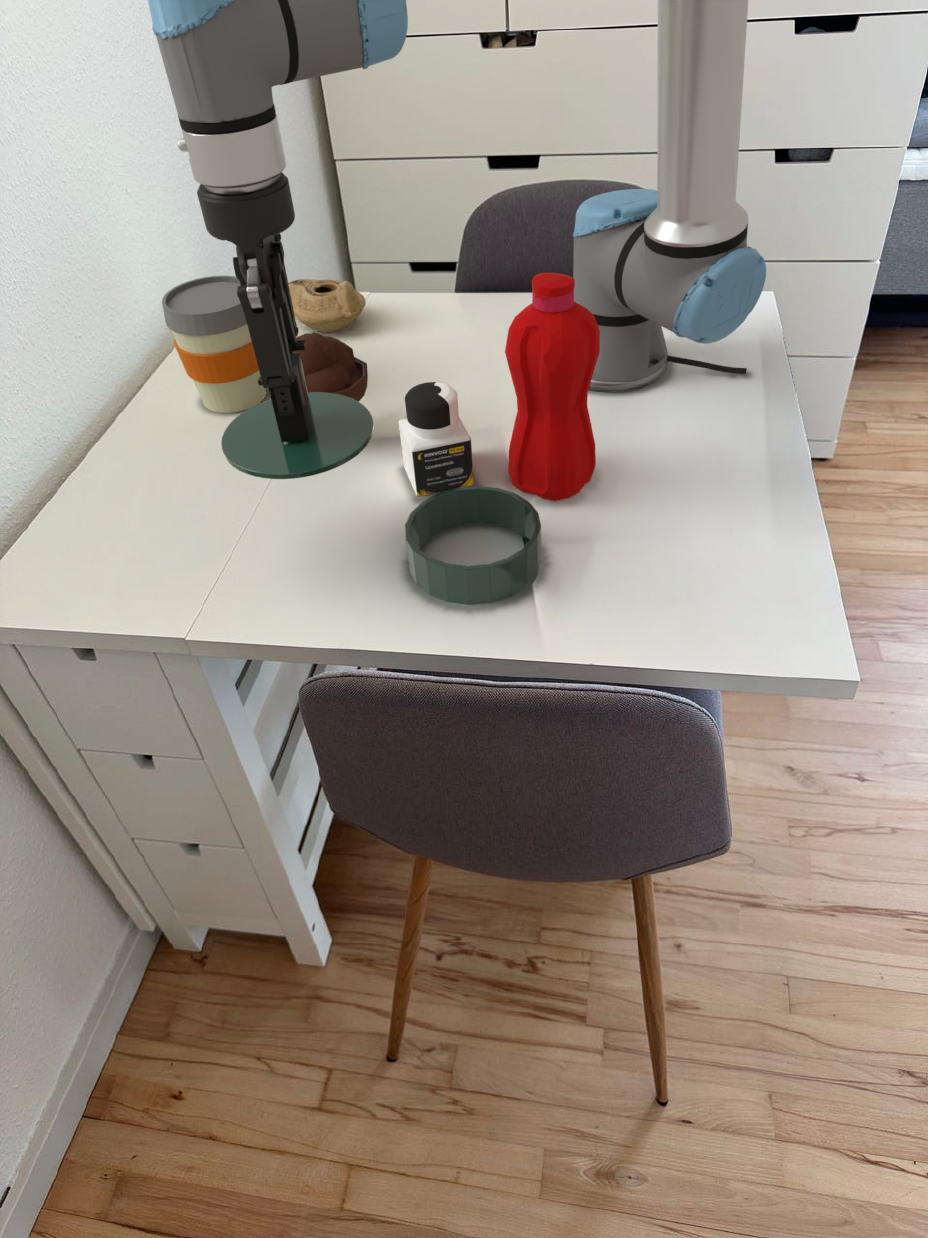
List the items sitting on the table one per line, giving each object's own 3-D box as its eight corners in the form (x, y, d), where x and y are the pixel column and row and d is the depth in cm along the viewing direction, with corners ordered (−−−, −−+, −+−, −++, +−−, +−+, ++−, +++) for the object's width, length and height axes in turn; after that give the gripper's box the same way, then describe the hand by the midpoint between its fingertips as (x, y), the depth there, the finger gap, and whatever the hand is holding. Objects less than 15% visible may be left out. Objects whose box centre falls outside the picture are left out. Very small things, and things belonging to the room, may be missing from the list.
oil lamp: (301, 304, 150) (292, 256, 145) (381, 314, 145) (375, 265, 140) (266, 333, 143) (255, 283, 137) (350, 345, 138) (342, 294, 133)
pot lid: (374, 395, 97) (363, 318, 91) (374, 476, 86) (361, 394, 80) (233, 409, 96) (212, 332, 90) (215, 491, 85) (189, 410, 79)
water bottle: (610, 465, 111) (623, 261, 93) (566, 512, 104) (570, 302, 87) (545, 445, 115) (545, 246, 97) (498, 489, 108) (490, 285, 91)
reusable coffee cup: (173, 413, 126) (140, 310, 116) (218, 371, 135) (192, 271, 124) (252, 424, 123) (226, 319, 112) (293, 380, 131) (272, 278, 121)
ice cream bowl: (366, 464, 114) (348, 354, 104) (283, 459, 116) (257, 350, 106) (387, 420, 121) (373, 313, 111) (309, 416, 123) (288, 311, 113)
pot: (531, 519, 104) (531, 480, 100) (549, 601, 93) (549, 561, 90) (408, 530, 103) (403, 492, 100) (412, 614, 93) (406, 575, 89)
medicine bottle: (417, 500, 108) (407, 411, 99) (403, 468, 113) (393, 381, 104) (474, 488, 109) (469, 399, 100) (458, 457, 114) (452, 370, 106)
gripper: (209, 151, 80) (266, 389, 96) (179, 219, 68) (251, 478, 84) (293, 143, 80) (336, 382, 96) (278, 209, 68) (331, 470, 84)
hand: (296, 426), depth 90 cm, fingers closed on pot lid, 4 cm apart
